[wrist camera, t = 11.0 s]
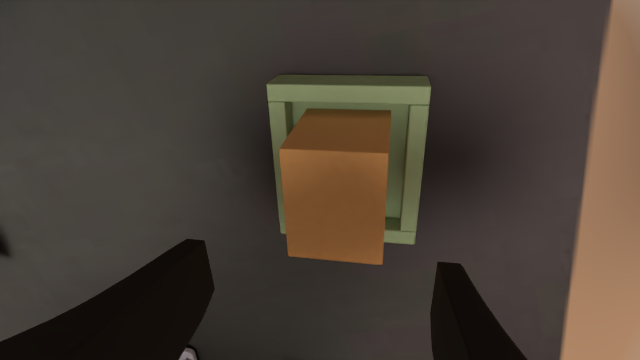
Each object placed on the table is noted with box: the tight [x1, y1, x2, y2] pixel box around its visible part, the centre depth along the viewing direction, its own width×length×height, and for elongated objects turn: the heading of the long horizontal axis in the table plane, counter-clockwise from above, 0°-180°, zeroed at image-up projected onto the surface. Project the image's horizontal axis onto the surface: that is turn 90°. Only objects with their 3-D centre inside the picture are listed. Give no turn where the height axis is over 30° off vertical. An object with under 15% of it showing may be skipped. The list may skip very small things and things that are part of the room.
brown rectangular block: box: [279, 108, 391, 265], centre depth 17 cm, size 5×4×5 cm
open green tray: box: [266, 75, 431, 245], centre depth 19 cm, size 8×7×2 cm
